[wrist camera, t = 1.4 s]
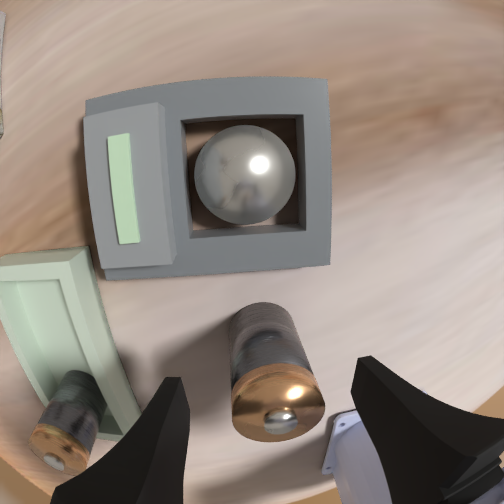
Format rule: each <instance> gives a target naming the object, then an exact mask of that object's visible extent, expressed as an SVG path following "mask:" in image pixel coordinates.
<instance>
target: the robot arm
mask: <svg viewBox="0 0 504 504" xmlns="http://www.w3.org/2000/svg"><path fill="white" fill-rule="evenodd" d="M351 395H352V398H353V401H354V404H355V407H356V411H351V412H347V413H342V414H340V415H338V416H337V417H336V418H335V421H334V425H333V429H332V433H331V437H330V441H329V445H328V449H327V452H326V456H325V460H324V463H323V467H322V470H321V472H322V474H323V475H327V474H331V473H333V476H334V479H335V482H336V486H337V489H338V492H339V495H340V498H341V501H342V504H504V467H503V468H502V469H501V468H500V466H499V464H500V463H501V462H502V461H501V459H500V458H499V456H500V455H501V453H502V452H503V451H504V419H501V418H493V417H487V416H482V415H478V414H473V413H470V412H467V411H464V410H461V409H458V408H456V407H453V406H450V405H448V404H446V403H443V402H441V401H439V400H437V399H435V398H433V397H431V396H429V395H428V394H427V393H426V391H421V390H419V389H417V388H416V387H414V386H413V385H411V384H410V383H408V382H407V381H405V380H404V379H402V378H401V377H399V376H398V375H397V374H395V373H394V372H393V371H391V370H390V369H388V368H387V367H386V366H384V365H383V364H382V363H380V362H379V361H378V360H376V359H375V358H374V357H372V356H366V357H361V358H358V360H357V365H356V369H355V374H354V379H353V383H352V388H351ZM189 432H190V409H189V405H188V402H187V398H186V395H185V391H184V387H183V384H182V380H181V377H166V378H165V379H164V380H163V382H162V384H161V385H160V387H159V389H158V390H157V392H156V393H155V395H154V397H153V398H152V400H151V401H150V403H149V404H148V406H147V407H146V409H145V410H144V411H143V413H142V414H141V416H140V417H139V418H138V420H137V421H136V422H135V423H134V425H133V426H132V427H131V428H130V430H129V431H128V432H127V433H126V434H125V436H124V437H123V438H122V439H121V440H120V441H119V442H118V443H117V444H116V445H115V446H114V447H113V448H112V449H111V450H110V451H109V452H108V453H106V454H105V455H104V456H103V457H102V458H101V459H100V460H98V461H97V462H96V463H94V464H93V465H92V466H90V467H89V468H88V469H86V470H85V471H83V472H82V473H80V474H79V475H77V476H76V477H74V478H72V479H70V480H69V481H67V482H65V483H63V484H61V485H59V486H57V487H56V488H55V490H54V493H53V495H52V499H51V502H50V504H183V479H184V469H185V461H186V454H187V447H188V439H189Z"/></svg>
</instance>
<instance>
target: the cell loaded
mask: <svg viewBox="0 0 504 504" xmlns="http://www.w3.org/2000/svg"><path fill="white" fill-rule="evenodd" d="M107 406H108V405H107V403H106V401H105V399H104V397H103V395H102V393H101V391H100V388H99V386H98V384H97V382H96V380H95V378H94V376H92V375H90V374H88V373H86V372H83V371H79V370H71V371H68V372H67V373H66V374H65V375H64V377H63V379H62V380H61V382H60V384H59V386H58V387H57V389H56V391H55V393H54V394H53V396H52V398H51V400H50V401H49V403H48V405H47V407H46V409H45V411H44V412H43V414H42V416H41V418H40V420H39V422H38V424H37V425H36V427H35V429H34V431H33V433H32V435H31V437H30V439H29V441H28V444H29V447H30V448H31V450H32V451H33V452H34V453H35V454H36V455H37V456H38V457H39V458H40V459H41V460H43V461H44V462H45V463H47V464H48V465H50V466H51V467H53V468H55V469H57V470H59V471H61V472H64V473H66V474H69V475H73V476H77V475H79V474H80V473H82V472H83V471H85V470H86V467H87V464H88V461H89V458H90V453H91V450H92V447H93V444H94V442H95V439H96V436H97V433H98V430H99V427H100V424H101V422H102V419H103V416H104V414H105V411H106V408H107Z"/></svg>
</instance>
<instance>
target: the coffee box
mask: <svg viewBox="0 0 504 504" xmlns="http://www.w3.org/2000/svg"><path fill="white" fill-rule="evenodd" d="M5 17H6V14H5V13H4V12H2V11H0V137H1V136H2V134H3V120H2V104H1V59H2V43H3V32H4V24H5Z"/></svg>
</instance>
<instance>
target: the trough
mask: <svg viewBox="0 0 504 504" xmlns="http://www.w3.org/2000/svg"><path fill="white" fill-rule="evenodd" d="M0 319H1V322H2V324H3V327H4V329H5V331H6V334H7V336H8V338H9V341H10V343H11V345H12V347H13V349H14V352H15V354H16V356H17V358H18V360H19V362H20V364H21V366H22V368H23V370H24V372H25V374H26V375H27V377H28V379H29V381H30V383H31V385H32V386H33V388H34V390H35V392H36V393H37V395H38V397H39V398H40V400H41V402H42V403H43V405H44V406H45V408H46V407H47V405H48V403H49V401H50V400H51V398H52V396H53V394H54V393H55V391H56V389H57V387H58V386H59V384H60V382H61V380H62V379H63V377H64V375H65V374H66V373H67V372H68V371H71V370H79V371H83V372H86V373H88V374H90V375H92V376H94V378H95V380H96V382H97V384H98V386H99V388H100V391H101V393H102V395H103V397H104V399H105V401H106V403H107V405H108V406H107V408H106V411H105V414H104V416H103V419H102V422H101V424H100V427H99V430H98V433H97V436H96V438H98V439H104V440H111V441H120V440H121V439H122V438H123V437H124V436H125V434H126V433H127V432H128V431H129V430H130V428H131V427H132V426H133V425H134V423H135V422H136V421H137V420H138V418H139V417H140V416H141V414H142V413H141V410H140V408H139V406H138V404H137V401H136V399H135V397H134V394H133V392H132V389H131V387H130V384H129V382H128V379H127V377H126V374H125V371H124V369H123V366H122V363H121V360H120V358H119V355H118V352H117V349H116V346H115V343H114V340H113V337H112V334H111V331H110V327H109V324H108V321H107V318H106V314H105V311H104V307H103V303H102V300H101V296H100V292H99V288H98V284H97V280H96V276H95V272H94V267H93V263H92V258H91V253H90V248H89V246H82V247H72V248H62V249H52V250H43V251H33V252H24V253H15V254H6V255H4V256H2V257H1V258H0Z"/></svg>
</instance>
